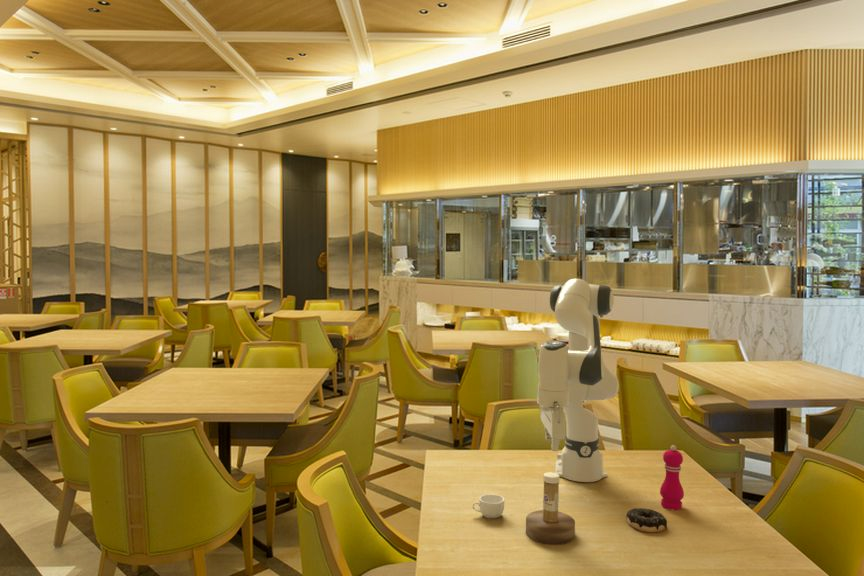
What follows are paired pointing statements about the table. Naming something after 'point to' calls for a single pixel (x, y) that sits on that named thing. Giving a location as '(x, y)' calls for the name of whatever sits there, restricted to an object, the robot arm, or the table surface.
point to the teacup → (490, 505)
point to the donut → (646, 520)
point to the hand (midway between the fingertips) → (551, 445)
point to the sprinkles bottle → (550, 497)
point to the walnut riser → (550, 528)
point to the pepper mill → (672, 480)
